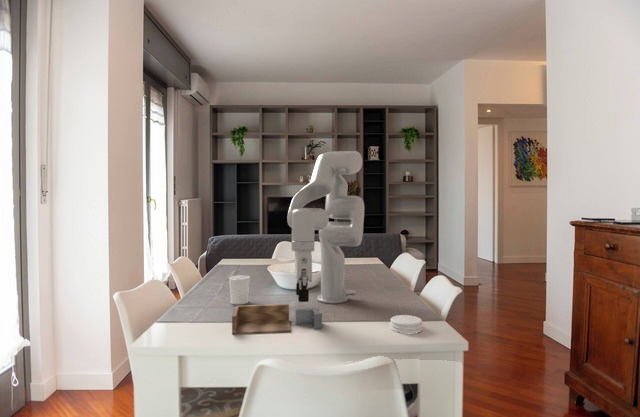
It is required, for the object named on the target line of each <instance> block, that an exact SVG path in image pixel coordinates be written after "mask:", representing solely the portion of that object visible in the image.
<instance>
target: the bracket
mask: <svg viewBox="0 0 640 417" xmlns="http://www.w3.org/2000/svg"><path fill="white" fill-rule="evenodd" d="M294 309H295V310H294V313H295V314H294V323H295V326H305V325H306V326H311V325H312V327H313V329H314V330H322V329H323V328H322V327H323V313H322V311H321V309H320V307H318V306H317V307H315V306H314V307H295V308H294Z"/></svg>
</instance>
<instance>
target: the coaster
mask: <svg viewBox="0 0 640 417" xmlns="http://www.w3.org/2000/svg"><path fill="white" fill-rule="evenodd" d="M390 329H391V331H393V332H395V331H396V332H395V333H397V332H401V333H416V332H419V331H421V330H422V331H423V320H422V319H421V317H418V316H414V315H409V314H399V315H393V316H392V317H391V318H390ZM422 331H421V332H422ZM401 333H400V334H401Z"/></svg>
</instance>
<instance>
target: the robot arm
mask: <svg viewBox="0 0 640 417" xmlns="http://www.w3.org/2000/svg"><path fill="white" fill-rule="evenodd" d="M362 157H363V156H362V154H361V153H360V152H359V151H357V150H345V151H344V150H341V151H340V150H339V151H338V150H337V151H334V150H333V151H327V152H324V153H321V154H319V155H318V157H317V158H316V161H315V164H314V167H313V171H312V174H311V178H310V180H309V183H307V184H305V186H304V187H302V188H301V189H300V190H299V191H298V192H297V193H296V194H295V195H294V196H292V197H293V198H292V199H291V202H290V205H289V206H288V207H289V208H288V211H287V216H286V217H287V218H286V220H287V225H288V226H289V227H290V228H291V251H292V252H294V275H295V279H296V284H295V285H296V287H295V288H296V290H295V291H296V292H295V295H296V296H298V297H297V298H298V302H299V303H308V302H309V300H310V298H309V297H310V296H309V291H310V289H309V283H312V282H313V262H312V261H313V260H312V259H313V258H312V256H313V255H312V252H313V253H314V252H315V231H318V239H319V245H320V294H318V295H317V296H316V300H317V301H318V302H320V303H324V304H341V303H342V304H343V303H346V302H348V301H349V296H356V295H357V291H356V290H355V289H354V290H352V289H346V288H345V264H346V263H345V262H346V261H345V254H344V251H342V249H341V247H358V246H360V245H361V244H362V241H363V235H364V234H363V233H364V222H365V221H364V220H365V202H364V200H363V197H360V196H357V195H348V186H349V185H348V182H347V181H346V178H345V177H343V176H344V175H346V176H348V175H349V176H351V175H354V174H357V173H358V172H359V171H360V170H361V169H362V166H363V158H362ZM324 197H325V207H324V209H323V208H319V207H305V206H307V204H309V203H311V202H314V201H315V200H318V199H321V198H324ZM330 219H334V220H335V219H336V220H350V221H330Z"/></svg>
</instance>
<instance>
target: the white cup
mask: <svg viewBox="0 0 640 417" xmlns="http://www.w3.org/2000/svg"><path fill="white" fill-rule="evenodd" d="M250 278H251V277H250V276H249V275H241V274H239V275H238V274H237V275H232V276H229V277H228V280H229V281H228V282H229V284H228V285H229V295H230V296H229V297H230V303H231V304H232V305H235V306H241V305H245V304H248V303H249V296H250V293H249V292H250V280H251V279H250Z"/></svg>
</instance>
